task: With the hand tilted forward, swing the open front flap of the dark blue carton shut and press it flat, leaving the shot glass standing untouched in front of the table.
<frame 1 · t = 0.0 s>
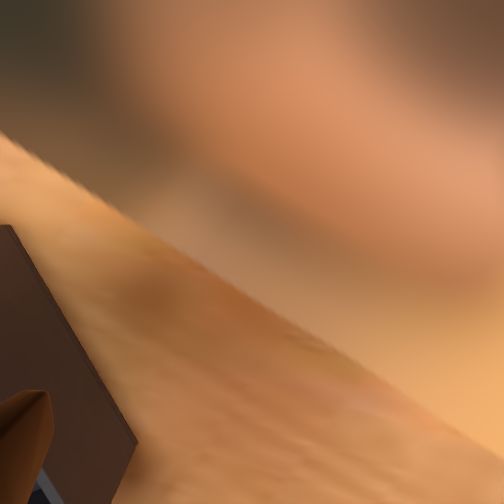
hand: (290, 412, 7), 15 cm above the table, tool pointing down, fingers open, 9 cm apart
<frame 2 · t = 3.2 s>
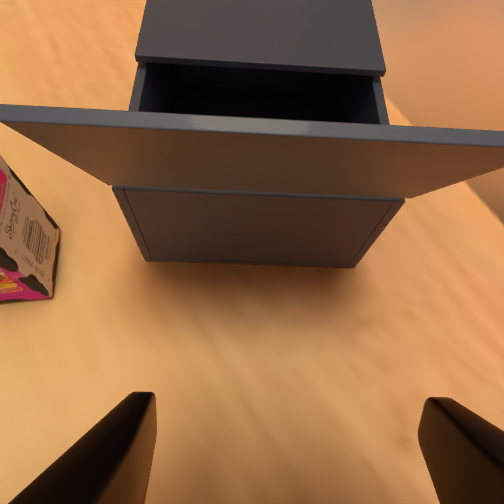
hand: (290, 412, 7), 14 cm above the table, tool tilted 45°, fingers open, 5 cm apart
flap: (271, 166, 12), point 11 cm above the table, hinge at 115.0°
carton: (252, 167, 27), on the table
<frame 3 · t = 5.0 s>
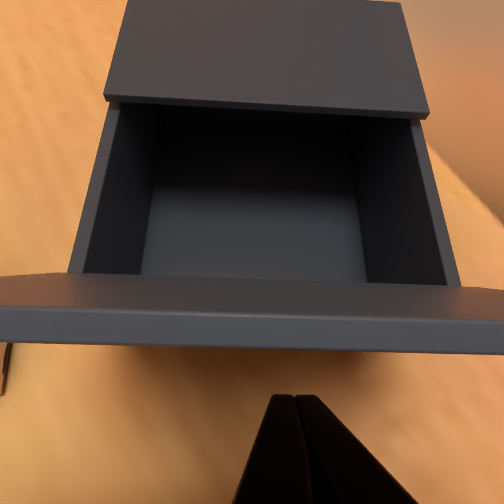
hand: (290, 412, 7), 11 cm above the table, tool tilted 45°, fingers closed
flap: (290, 299, 8), point 11 cm above the table, hinge at 115.0°
carton: (255, 216, 22), on the table
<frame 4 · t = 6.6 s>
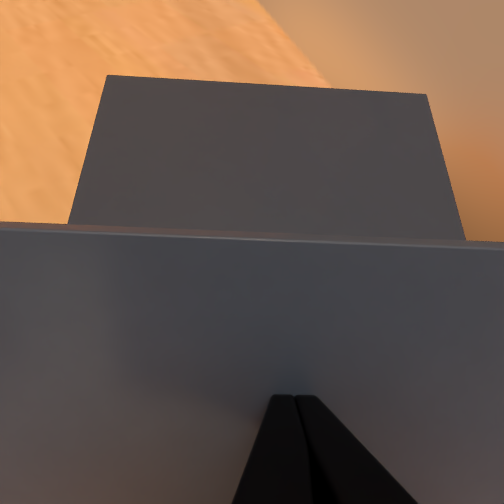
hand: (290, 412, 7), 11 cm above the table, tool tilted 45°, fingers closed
flap: (289, 414, 7), point 11 cm above the table, hinge at 45.8°
carton: (254, 321, 19), on the table
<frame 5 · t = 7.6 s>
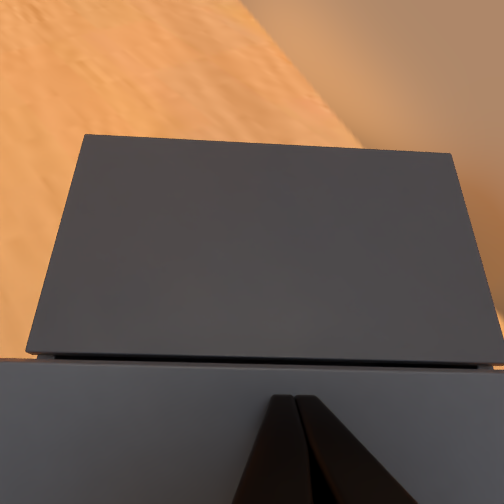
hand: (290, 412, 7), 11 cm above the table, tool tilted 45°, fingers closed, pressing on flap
carton: (254, 393, 17), on the table
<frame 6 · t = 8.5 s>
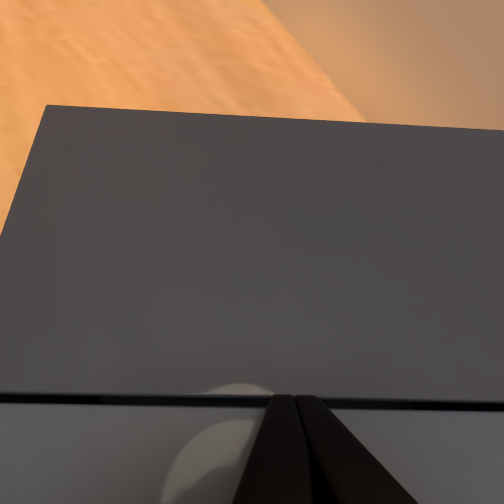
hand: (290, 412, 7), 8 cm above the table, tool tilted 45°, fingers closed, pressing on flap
carton: (258, 419, 15), on the table
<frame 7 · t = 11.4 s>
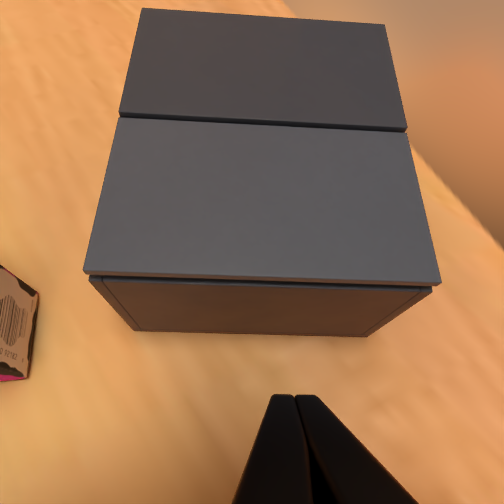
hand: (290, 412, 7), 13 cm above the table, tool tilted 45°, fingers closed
flap: (265, 195, 15), point 8 cm above the table, hinge at -1.2°
carton: (253, 217, 24), on the table
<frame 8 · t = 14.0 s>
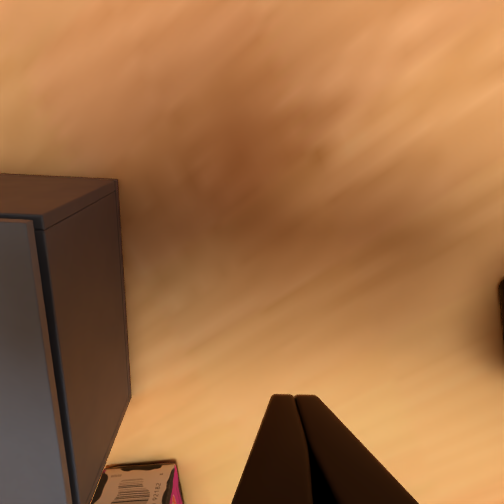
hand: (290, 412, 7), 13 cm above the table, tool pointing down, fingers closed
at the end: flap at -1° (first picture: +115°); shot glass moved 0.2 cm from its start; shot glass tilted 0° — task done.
